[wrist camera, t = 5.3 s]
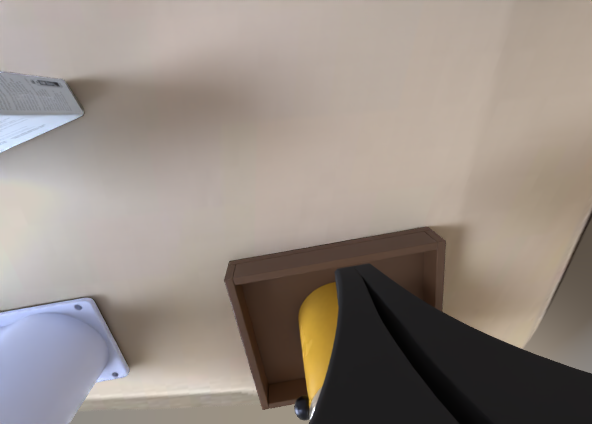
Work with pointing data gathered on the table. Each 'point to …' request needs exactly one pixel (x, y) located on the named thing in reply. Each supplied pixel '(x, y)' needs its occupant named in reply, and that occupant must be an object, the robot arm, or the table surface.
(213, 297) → the table surface
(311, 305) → the pot
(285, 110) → the table surface
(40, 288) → the table surface
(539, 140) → the table surface
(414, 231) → the tray
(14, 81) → the ink box
